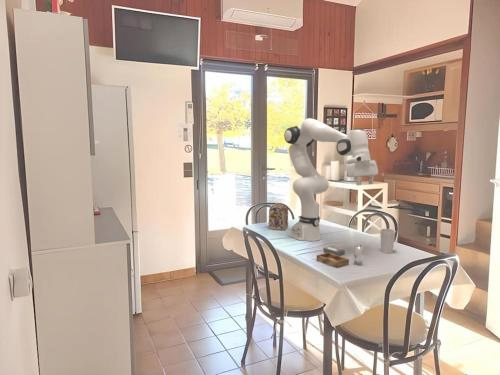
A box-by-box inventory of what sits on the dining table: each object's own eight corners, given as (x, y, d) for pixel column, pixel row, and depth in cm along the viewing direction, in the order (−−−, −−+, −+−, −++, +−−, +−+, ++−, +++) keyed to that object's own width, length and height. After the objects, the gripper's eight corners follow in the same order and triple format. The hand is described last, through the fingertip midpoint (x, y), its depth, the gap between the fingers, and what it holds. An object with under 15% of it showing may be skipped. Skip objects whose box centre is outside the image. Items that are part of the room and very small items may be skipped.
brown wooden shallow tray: (316, 260, 191) (316, 255, 191) (327, 257, 196) (327, 252, 196) (337, 267, 180) (337, 262, 180) (348, 264, 185) (348, 259, 185)
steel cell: (352, 263, 187) (353, 244, 186) (357, 262, 189) (358, 243, 188) (359, 265, 184) (359, 246, 183) (364, 264, 186) (364, 245, 185)
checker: (323, 252, 205) (323, 247, 205) (331, 250, 210) (332, 245, 209) (336, 256, 198) (336, 250, 198) (344, 254, 203) (344, 248, 202)
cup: (376, 251, 208) (377, 230, 207) (383, 248, 214) (384, 228, 212) (390, 254, 203) (391, 232, 201) (396, 251, 208) (398, 230, 207)
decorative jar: (284, 230, 254) (285, 204, 252) (268, 229, 258) (268, 203, 255) (288, 227, 265) (288, 202, 263) (272, 225, 269) (272, 201, 267)
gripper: (369, 159, 204) (373, 184, 204) (343, 160, 193) (347, 186, 193) (379, 157, 199) (382, 182, 198) (353, 158, 188) (356, 185, 187)
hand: (365, 184), depth 195 cm, fingers open, 8 cm apart
